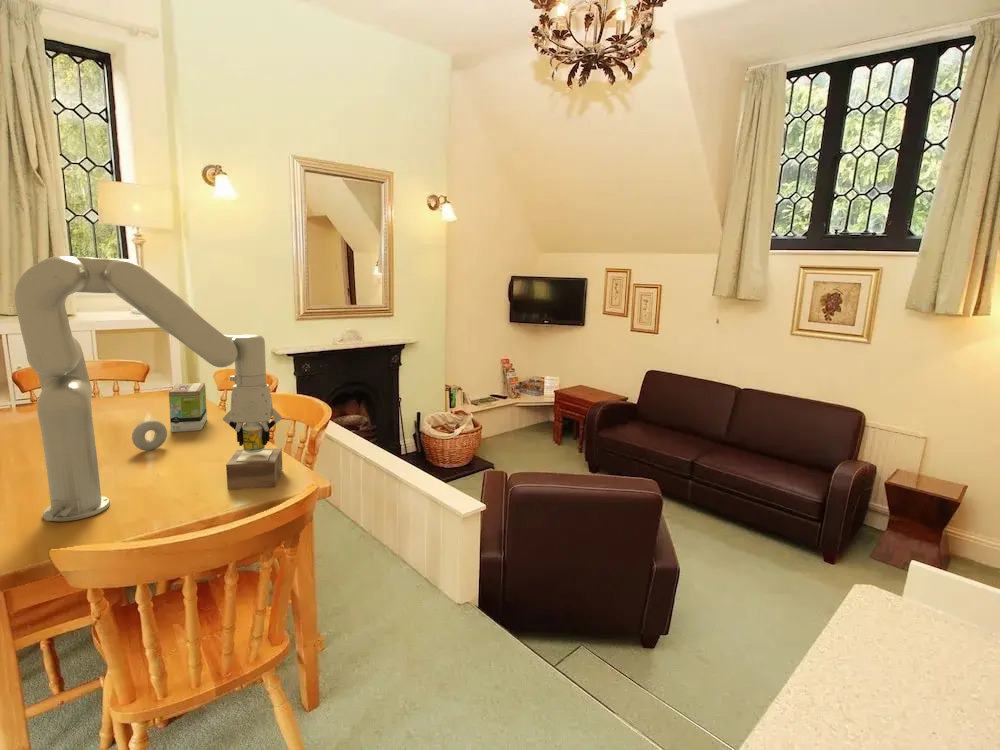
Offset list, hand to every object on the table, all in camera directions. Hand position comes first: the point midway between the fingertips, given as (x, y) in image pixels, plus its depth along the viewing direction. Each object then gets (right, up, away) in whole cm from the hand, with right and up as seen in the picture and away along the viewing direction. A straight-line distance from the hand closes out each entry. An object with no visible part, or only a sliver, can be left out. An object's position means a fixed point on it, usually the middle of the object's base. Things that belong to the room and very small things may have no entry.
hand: (253, 443), depth 151 cm
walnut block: (0, -11, +2) cm, 11 cm away
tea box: (-45, 0, +48) cm, 66 cm away
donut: (-43, -5, +22) cm, 48 cm away
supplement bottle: (0, -2, 0) cm, 2 cm away
